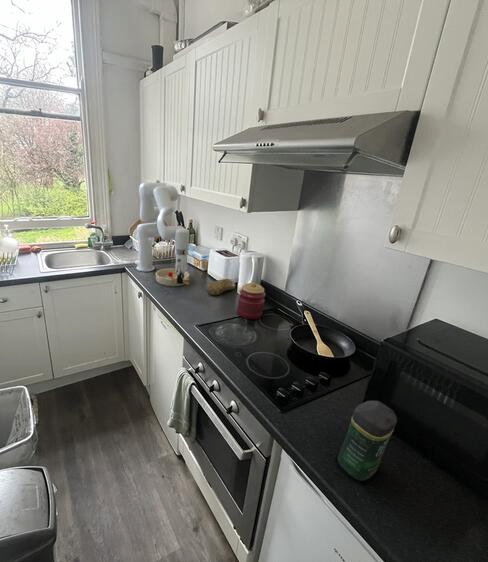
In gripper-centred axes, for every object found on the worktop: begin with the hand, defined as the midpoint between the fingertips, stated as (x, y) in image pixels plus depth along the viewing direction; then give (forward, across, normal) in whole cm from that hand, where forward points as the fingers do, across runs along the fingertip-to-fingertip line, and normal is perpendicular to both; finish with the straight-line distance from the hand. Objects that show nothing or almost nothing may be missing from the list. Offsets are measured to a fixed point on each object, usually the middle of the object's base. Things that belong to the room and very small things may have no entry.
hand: (180, 282), depth 170 cm
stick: (0, 0, 0) cm, 0 cm away
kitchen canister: (+7, -15, -40) cm, 43 cm away
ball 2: (+4, +16, +8) cm, 19 cm away
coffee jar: (+8, -93, -69) cm, 116 cm away
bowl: (+7, +18, +10) cm, 22 cm away
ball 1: (+4, +22, +12) cm, 26 cm away
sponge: (+7, +9, -22) cm, 25 cm away
